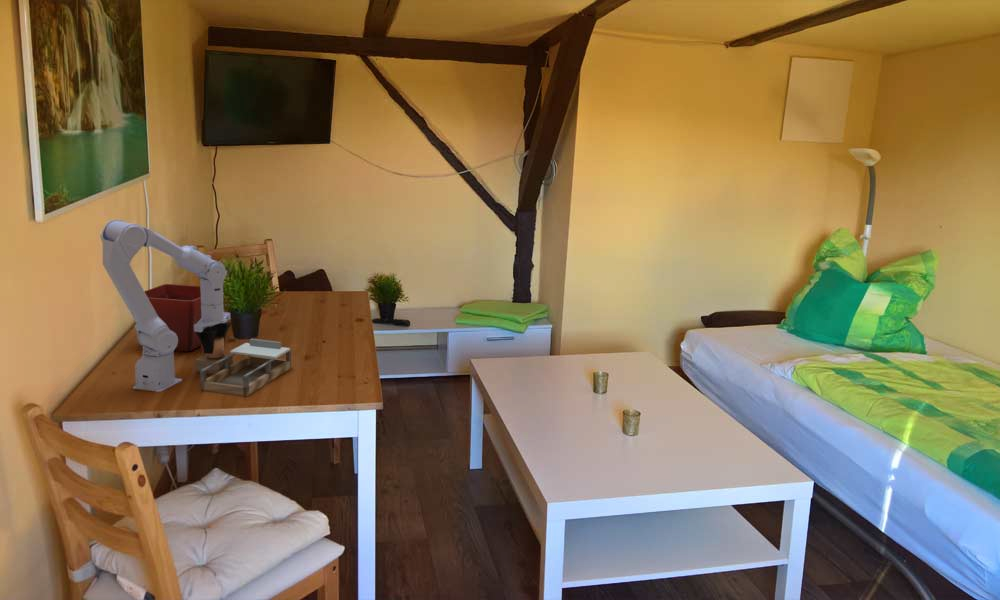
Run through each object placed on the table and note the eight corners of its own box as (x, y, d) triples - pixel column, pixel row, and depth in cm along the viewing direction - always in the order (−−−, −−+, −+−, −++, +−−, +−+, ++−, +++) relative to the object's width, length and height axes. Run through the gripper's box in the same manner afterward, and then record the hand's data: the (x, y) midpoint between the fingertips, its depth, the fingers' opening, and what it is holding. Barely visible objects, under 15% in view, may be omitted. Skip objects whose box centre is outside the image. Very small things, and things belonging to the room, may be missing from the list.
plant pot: (167, 334, 236) (165, 282, 232) (224, 338, 234) (223, 287, 230) (132, 351, 217) (129, 296, 213) (194, 356, 216) (192, 301, 212)
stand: (218, 376, 201) (218, 362, 200) (195, 373, 202) (195, 359, 201) (232, 368, 207) (232, 355, 206) (210, 365, 209) (209, 352, 208)
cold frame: (247, 397, 187) (246, 376, 186) (200, 391, 189) (200, 370, 188) (291, 368, 210) (290, 349, 209) (249, 363, 212) (249, 344, 211)
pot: (216, 359, 201) (216, 341, 200) (203, 356, 202) (203, 339, 201) (227, 355, 205) (227, 337, 204) (214, 352, 206) (214, 335, 205)
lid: (275, 358, 199) (275, 350, 199) (229, 353, 202) (229, 344, 201) (290, 350, 208) (290, 342, 207) (246, 344, 210) (245, 336, 209)
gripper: (210, 310, 193) (211, 359, 196) (239, 298, 206) (240, 344, 210) (186, 307, 194) (188, 356, 197) (217, 296, 208) (218, 342, 211)
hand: (213, 350), depth 203 cm, fingers closed on pot, 4 cm apart
